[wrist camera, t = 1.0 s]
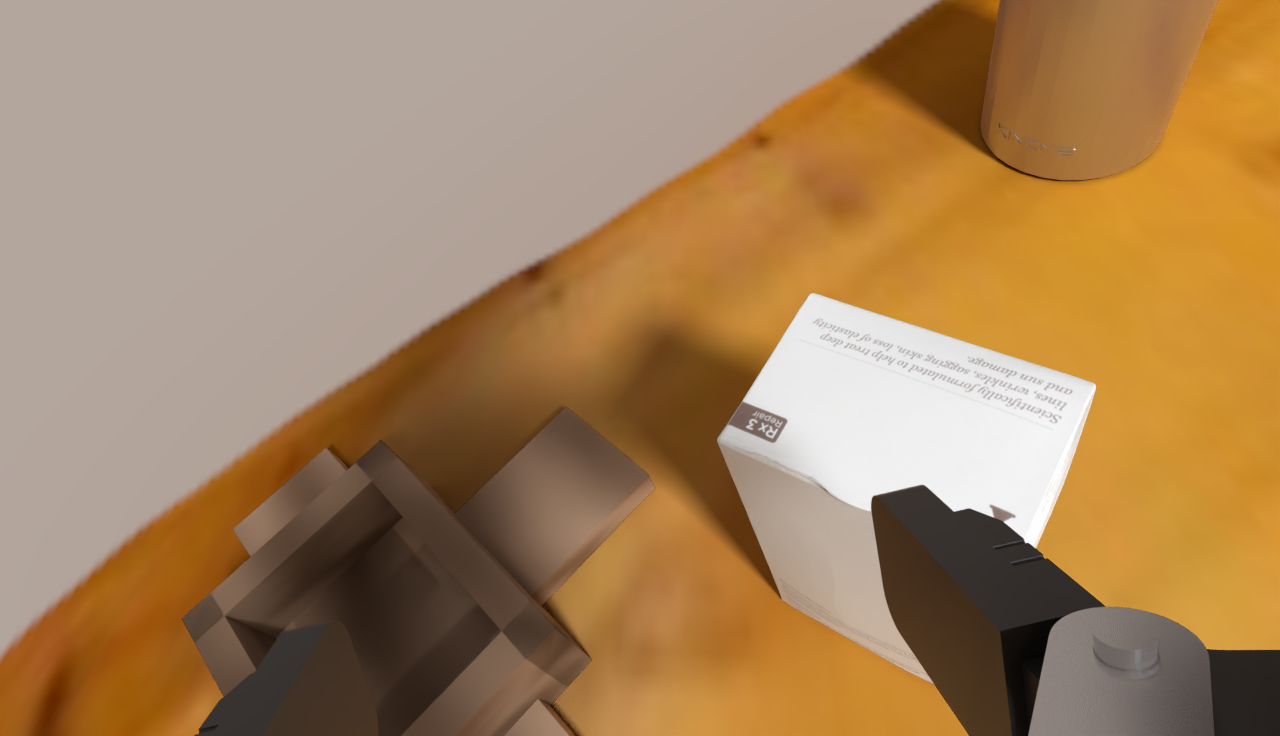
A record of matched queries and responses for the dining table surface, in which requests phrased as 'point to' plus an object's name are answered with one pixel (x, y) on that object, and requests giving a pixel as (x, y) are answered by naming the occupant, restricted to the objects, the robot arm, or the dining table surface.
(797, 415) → the skincare box
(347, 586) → the cross stand
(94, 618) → the dining table surface
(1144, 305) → the dining table surface
